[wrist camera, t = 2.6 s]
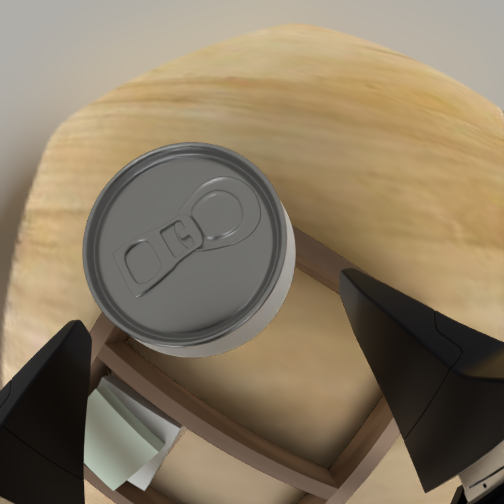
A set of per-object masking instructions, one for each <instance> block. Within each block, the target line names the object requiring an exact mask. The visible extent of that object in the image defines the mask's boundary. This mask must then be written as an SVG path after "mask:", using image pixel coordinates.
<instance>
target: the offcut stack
mask: <svg viewBox="0 0 504 504" xmlns="http://www.w3.org/2000/svg"><path fill="white" fill-rule="evenodd" d="M186 430H187V428H186V427H184V426H183V425H182V424H180V423H179V422H177V421H176V420H174V419H173V418H172V417H170V416H169V415H167V414H166V413H165V412H163V411H162V410H161V409H159V408H158V407H157V406H155V405H154V404H153V403H151V402H150V401H149V400H147V399H146V398H145V397H144V396H142V395H141V394H140V393H139V392H137V391H136V390H135V389H134V388H132V387H131V386H130V385H129V384H128V383H126V382H125V381H124V380H123V379H122V378H121V377H119V376H118V375H117V374H116V373H115V372H114V371H112V372H111V374H110V375H108V376H105V377H102V379H101V381H100V383H99V386H98V388H96V389H95V390H94V391H93V392H92V394H91V395H90V396H89V397H88V403H87V414H86V426H85V444H84V463H85V464H86V465H87V466H88V467H89V468H90V469H91V470H92V471H93V472H94V473H95V474H96V475H97V476H98V477H99V478H100V479H101V480H102V481H103V482H104V483H105V484H106V485H107V486H108V487H109V488H111V489H112V490H113V491H114V490H115V489H117V488H118V487H119V486H120V485H121V484H123V483H124V482H125V481H126V480H127V481H129V482H131V483H132V484H134V485H135V486H137V487H139V488H140V489H142V490H144V491H145V490H146V488H147V487H148V486H149V484H150V483H151V482H152V480H153V478H154V476H155V475H156V473H157V471H158V470H159V468H160V466H161V464H162V463H163V461H164V459H165V457H166V456H167V455H168V453H169V452H170V451H171V450H172V448H173V447H174V446H175V444H176V443H177V442H178V440H179V439H180V438H181V436H182V435H183V434H184V433H185V431H186Z"/></svg>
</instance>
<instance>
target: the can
mask: <svg viewBox="0 0 504 504" xmlns="http://www.w3.org/2000/svg"><path fill="white" fill-rule="evenodd" d="M83 266H84V272H85V277H86V280H87V284H88V286H89V289H90V291H91V294H92V296H93V298H94V300H95V302H96V303H97V305H98V306H99V308H100V309H101V311H102V312H103V313H104V314H105V316H106V317H107V318H108V319H109V320H110V321H111V322H112V323H113V324H114V325H115V326H117V327H118V328H119V329H120V330H122V331H123V332H125V333H126V334H128V335H130V336H131V337H133V338H134V339H136V340H137V341H138V342H140V343H141V344H143V345H145V346H147V347H149V348H151V349H153V350H155V351H158V352H161V353H164V354H167V355H172V356H177V357H188V358H198V357H208V356H214V355H218V354H221V353H225V352H227V351H230V350H232V349H235V348H237V347H239V346H241V345H243V344H245V343H246V342H248V341H249V340H251V339H252V338H254V337H255V336H256V335H258V334H259V333H260V332H261V331H262V330H263V329H264V328H265V327H266V326H267V325H268V324H269V323H270V322H271V321H272V319H273V318H274V317H275V315H276V314H277V313H278V311H279V309H280V308H281V306H282V304H283V302H284V300H285V298H286V296H287V294H288V291H289V289H290V286H291V282H292V279H293V274H294V268H295V239H294V233H293V229H292V225H291V222H290V219H289V217H288V214H287V212H286V210H285V208H284V206H283V204H282V203H281V201H280V199H279V197H278V194H277V192H276V191H275V189H274V187H273V185H272V184H271V182H270V181H269V180H268V178H267V177H266V176H265V175H264V173H263V172H262V171H261V170H260V169H259V168H258V167H257V166H255V165H254V164H253V163H252V162H251V161H249V160H248V159H246V158H245V157H243V156H242V155H240V154H238V153H236V152H234V151H232V150H230V149H227V148H224V147H221V146H218V145H213V144H208V143H199V142H186V143H177V144H171V145H167V146H163V147H160V148H157V149H154V150H152V151H149V152H147V153H145V154H143V155H141V156H139V157H138V158H136V159H134V160H133V161H131V162H130V163H129V164H127V165H126V166H125V167H123V168H122V169H121V170H120V171H119V172H118V173H117V174H116V175H115V176H114V177H113V178H112V179H111V180H110V181H109V182H108V183H107V185H106V186H105V187H104V189H103V190H102V192H101V193H100V195H99V196H98V198H97V200H96V201H95V203H94V205H93V208H92V210H91V212H90V215H89V217H88V220H87V224H86V228H85V232H84V238H83Z"/></svg>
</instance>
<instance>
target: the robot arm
mask: <svg viewBox="0 0 504 504" xmlns="http://www.w3.org/2000/svg"><path fill="white" fill-rule="evenodd" d="M339 293H340V297H341V299H342V302H343V305H344V307H345V310H346V313H347V316H348V318H349V321H350V324H351V327H352V329H353V332H354V335H355V337H356V339H357V341H358V343H359V345H360V347H361V349H362V351H363V353H364V355H365V357H366V359H367V361H368V363H369V365H370V367H371V369H372V372H373V374H374V376H375V378H376V380H377V382H378V384H379V386H380V388H381V391H382V393H383V395H384V397H385V399H386V401H387V404H388V406H389V408H390V410H391V412H392V415H393V417H394V419H395V421H396V424H397V426H398V428H399V431H400V433H401V435H402V438H403V440H404V443H405V445H406V447H407V450H408V452H409V455H410V457H411V459H412V462H413V464H414V467H415V469H416V472H417V474H418V477H419V479H420V482H421V484H422V487H423V490H424V492H425V493H427V492H429V491H431V490H433V489H435V488H437V487H439V486H440V485H442V484H444V483H446V482H447V481H449V480H451V479H453V478H454V477H456V476H457V475H458V476H459V478H460V480H461V483H462V485H461V486H459V487H457V490H456V492H455V494H454V497H453V499H452V501H451V504H504V342H502V341H499V340H497V339H495V338H493V337H490V336H488V335H486V334H484V333H481V332H479V331H477V330H474V329H472V328H470V327H468V326H465V325H463V324H461V323H459V322H457V321H455V320H453V319H451V318H449V317H447V316H445V315H443V314H441V313H440V312H438V311H434V309H432V308H430V307H428V306H426V305H425V304H423V303H421V302H419V301H417V300H415V299H413V298H411V297H409V296H408V295H406V294H404V293H402V292H400V291H398V290H396V289H394V288H392V287H390V286H388V285H386V284H385V283H383V282H381V281H379V280H377V279H375V278H373V277H371V276H369V275H367V274H365V273H363V272H361V271H359V270H357V269H355V268H353V267H350V268H346V269H342V270H341V271H340V276H339ZM91 353H92V337H91V335H90V333H89V332H88V330H87V329H86V327H85V326H84V324H83V323H82V321H80V320H72V321H69V322H68V323H67V324H66V325H65V326H64V327H63V328H62V329H61V330H60V331H59V332H58V333H57V334H56V335H55V336H53V337H52V338H51V339H50V340H49V341H48V342H47V343H46V344H45V345H44V346H43V347H42V348H41V349H40V350H39V351H38V352H37V353H36V354H35V355H34V356H33V357H32V358H31V359H30V360H29V361H28V362H27V363H26V364H25V365H24V366H23V367H22V368H21V370H20V371H19V372H18V373H17V374H16V375H15V376H14V377H13V378H12V380H10V381H9V382H8V383H7V384H6V385H5V386H4V387H3V389H2V390H1V391H0V504H85V496H84V444H85V426H86V414H87V403H88V393H89V385H90V374H91Z"/></svg>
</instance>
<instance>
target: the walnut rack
mask: <svg viewBox="0 0 504 504" xmlns="http://www.w3.org/2000/svg"><path fill="white" fill-rule="evenodd" d="M292 229H293V233H294V239H295V267H297V268H299V269H300V270H302V271H303V272H305V273H306V274H308V275H310V276H311V277H313V278H314V279H316V280H318V281H319V282H321V283H322V284H324V285H325V286H327V287H329V288H330V289H332V290H333V291H335V292H336V293H338V294H340V293H339V276H340V271H341V270H342V269H346V268H350V267H353V268H355V269H357V270H359V271H361V272H363V273H365V274H367V275H369V274H368V273H366V272H365V271H363V270H362V269H360V268H359V267H357V266H355V265H354V264H352V263H351V262H349V261H348V260H346V259H345V258H343V257H342V256H340V255H338V254H337V253H335V252H334V251H332V250H331V249H329V248H327V247H326V246H324V245H323V244H321V243H320V242H318V241H316V240H315V239H313V238H312V237H310V236H308V235H307V234H305V233H304V232H302V231H300V230H299V229H297V228H295V227H294V226H292ZM369 276H371V275H369ZM371 277H372V276H371ZM373 278H374V277H373ZM90 335H91V337H92V353H91V374H90V385H89V393H88V397H89V396H90V395H91V394H92V392H93V391H94V390H95V389H96V388H97V387H98V386H99V383H100V381H101V379H102V377H104V376H105V374H106V372H107V371H108V369H109V368H110V369H111V370H113V371H114V372H115V373H116V374H117V375H118V376H119V377H121V378H122V379H123V380H124V381H125V382H126V383H128V384H129V385H130V386H131V387H132V388H134V389H135V390H136V391H137V392H139V393H140V394H141V395H142V396H144V397H145V398H146V399H147V400H149V401H150V402H151V403H153V404H154V405H155V406H157V407H158V408H159V409H161V410H162V411H163V412H165V413H166V414H167V415H169V416H170V417H172V418H173V419H174V420H176V421H177V422H179V423H180V424H182V425H183V426H184V427H186V428H187V429H189V430H190V431H192V432H193V433H195V434H197V435H198V436H200V437H201V438H203V439H204V440H206V441H208V442H209V443H211V444H212V445H214V446H216V447H217V448H219V449H221V450H222V451H224V452H226V453H228V454H229V455H231V456H233V457H235V458H237V459H238V460H240V461H242V462H244V463H246V464H248V465H250V466H251V467H253V468H255V469H257V470H259V471H261V472H263V473H265V474H267V475H269V476H272V477H274V478H276V479H278V480H280V481H282V482H285V483H287V484H289V485H291V486H294V487H296V488H298V489H301V490H303V491H306V492H308V493H307V494H306V495H305V496H304V497H303V498H302V499H301V500H300V501H299V502H298V503H297V504H344V503H345V502H346V501H347V500H348V499H349V498H350V497H351V496H352V495H353V494H354V492H355V491H356V490H357V489H358V488H359V487H360V486H361V484H362V483H363V482H364V481H365V480H366V479H367V477H368V476H369V475H370V474H371V472H372V471H373V470H374V469H375V467H376V466H377V465H378V464H379V462H380V461H381V460H382V458H383V457H384V456H385V454H386V453H387V452H388V450H389V449H390V448H391V446H392V445H393V443H394V442H395V441H396V439H397V438H398V436H399V435H400V431H399V428H398V426H397V424H396V421H395V419H394V417H393V415H392V412H391V410H390V408H389V406H388V404H387V401H386V399H385V397H384V395H382V397H381V398H380V400H379V401H378V403H377V405H376V406H375V408H374V409H373V411H372V412H371V414H370V415H369V417H368V418H367V420H366V421H365V422H364V424H363V425H362V427H361V428H360V430H359V431H358V432H357V434H356V435H355V436H354V438H353V439H352V441H351V442H350V443H349V444H348V446H347V447H346V448H345V450H344V451H343V452H342V454H341V455H340V456H339V457H338V459H337V460H336V461H335V462H334V463H333V465H332V466H331V467H330V468H329V469H326V468H323V467H321V466H319V465H317V464H314V463H312V462H310V461H308V460H306V459H304V458H301V457H299V456H297V455H295V454H293V453H291V452H289V451H287V450H285V449H283V448H281V447H279V446H277V445H275V444H273V443H272V442H270V441H268V440H266V439H264V438H262V437H261V436H259V435H257V434H255V433H253V432H252V431H250V430H248V429H246V428H245V427H243V426H241V425H240V424H238V423H236V422H235V421H233V420H231V419H230V418H228V417H226V416H225V415H223V414H222V413H220V412H219V411H217V410H215V409H214V408H212V407H211V406H209V405H208V404H206V403H205V402H203V401H202V400H200V399H199V398H197V397H196V396H194V395H193V394H192V393H190V392H189V391H187V390H186V389H184V388H183V387H182V386H180V385H179V384H177V383H176V382H175V381H173V380H172V379H171V378H169V377H168V376H167V375H165V374H164V373H163V372H161V371H160V370H159V369H157V368H156V367H155V366H154V365H152V364H151V363H150V362H149V361H147V360H146V359H145V358H144V357H142V356H141V355H140V354H139V353H137V352H136V351H135V350H134V349H133V348H132V347H130V346H129V345H128V344H127V343H126V342H125V341H126V340H127V338H128V337H129V335H128V334H126V333H125V332H123V331H122V330H120V329H119V328H118V327H117V326H115V325H114V324H113V323H112V322H111V321H110V320H109V319H108V318H107V317H106V316H105V314H104V313H103V312H102V313H101V315H100V316H99V318H98V319H97V321H96V323H95V325H94V326H93V328H92V330H91V331H90ZM84 479H86V480H87V481H88V482H89V483H90V484H92V485H93V486H94V487H95V488H96V489H98V490H99V491H100V492H101V493H103V494H104V495H105V496H107V497H108V498H109V499H111V500H112V501H113V502H115V503H116V504H177V503H175V502H173V501H172V500H170V499H168V498H167V497H165V496H164V495H162V494H160V493H159V492H157V491H156V490H154V489H153V488H151V487H150V486H148V487H147V488H146V490H145V491H144V490H142V489H140V488H139V487H137V486H135V485H134V484H132V483H131V482H129V481H127V480H126V481H125V482H124V483H123V484H121V485H120V486H119V487H118V488H117V489H115V490H114V491H113V490H112V489H111V488H109V487H108V486H107V485H106V484H105V483H104V482H103V481H102V480H101V479H100V478H99V477H98V476H97V475H96V474H95V473H94V472H93V471H92V470H91V469H90V468H89V467H88V466H87V465H86V464H85V463H84Z"/></svg>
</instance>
